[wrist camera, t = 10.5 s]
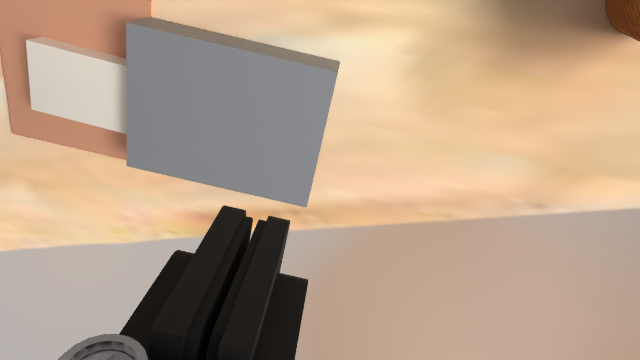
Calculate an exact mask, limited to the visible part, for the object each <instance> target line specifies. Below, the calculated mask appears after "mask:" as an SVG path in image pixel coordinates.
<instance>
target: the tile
mask: <svg viewBox="0 0 640 360" xmlns="http://www.w3.org/2000/svg"><path fill="white" fill-rule="evenodd" d="M26 48H27V61H28V73H29V85H30V98H31V109H32V110H35V111H39V112H43V113H47V114H51V115H55V116H59V117H62V118H66V119H70V120H74V121H78V122H82V123H85V124H89V125H93V126H97V127H101V128H105V129H109V130H112V131H116V132H120V133H124V134H127V84H126V58H122V57H118V56H115V55H111V54H107V53H103V52H100V51H96V50H92V49H88V48H84V47H81V46H77V45H73V44H69V43H66V42H62V41H58V40H54V39H50V38H47V37H43V36H42V37H37V38H33V39H28V40H26Z"/></svg>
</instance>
